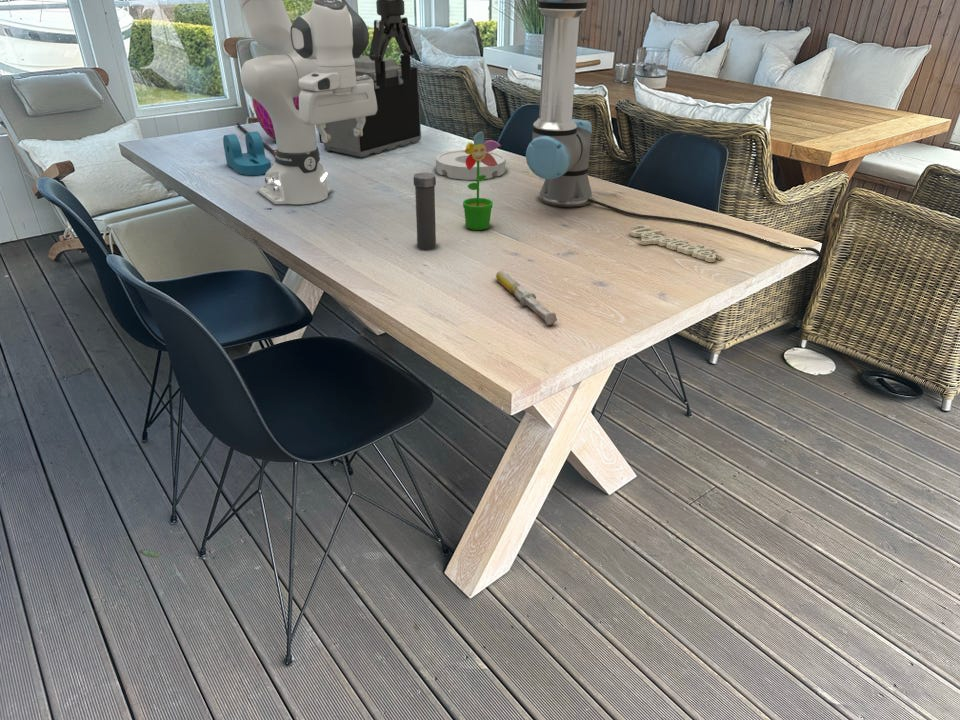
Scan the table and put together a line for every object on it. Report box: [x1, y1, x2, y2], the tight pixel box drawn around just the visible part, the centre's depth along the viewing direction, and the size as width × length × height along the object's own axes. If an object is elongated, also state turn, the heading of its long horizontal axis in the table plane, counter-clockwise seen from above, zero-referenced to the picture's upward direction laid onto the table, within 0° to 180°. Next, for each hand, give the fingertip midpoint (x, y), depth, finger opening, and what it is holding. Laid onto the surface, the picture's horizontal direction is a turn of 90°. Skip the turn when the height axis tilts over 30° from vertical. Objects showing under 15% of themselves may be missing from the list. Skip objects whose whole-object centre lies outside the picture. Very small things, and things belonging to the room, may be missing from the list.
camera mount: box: [222, 131, 272, 176], centre depth 226 cm, size 18×10×10 cm, turn 35°
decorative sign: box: [630, 224, 722, 263], centre depth 172 cm, size 26×1×10 cm
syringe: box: [495, 269, 558, 326], centre depth 143 cm, size 25×4×3 cm, turn 21°
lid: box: [412, 172, 437, 188], centre depth 161 cm, size 5×5×2 cm
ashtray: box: [435, 149, 507, 181], centre depth 229 cm, size 23×23×4 cm
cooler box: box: [318, 55, 422, 159], centre depth 250 cm, size 37×22×30 cm, turn 144°
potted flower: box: [462, 131, 501, 231], centre depth 176 cm, size 9×8×25 cm
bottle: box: [414, 185, 437, 251], centre depth 165 cm, size 5×5×17 cm
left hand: (342, 139), depth 166 cm, fingers open, 8 cm apart
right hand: (394, 83), depth 195 cm, fingers open, 13 cm apart
